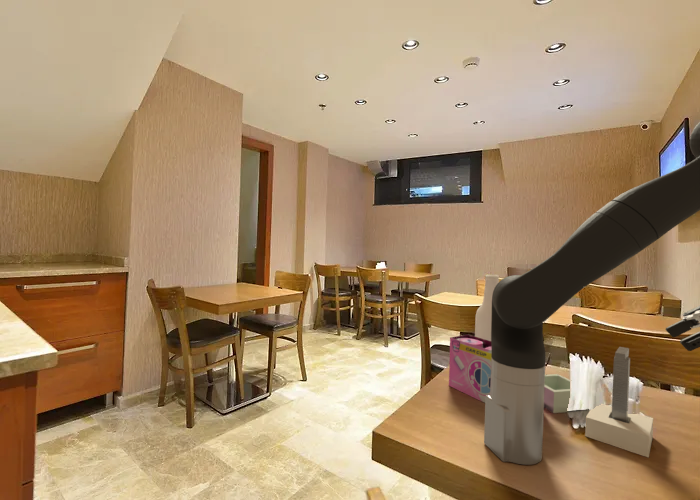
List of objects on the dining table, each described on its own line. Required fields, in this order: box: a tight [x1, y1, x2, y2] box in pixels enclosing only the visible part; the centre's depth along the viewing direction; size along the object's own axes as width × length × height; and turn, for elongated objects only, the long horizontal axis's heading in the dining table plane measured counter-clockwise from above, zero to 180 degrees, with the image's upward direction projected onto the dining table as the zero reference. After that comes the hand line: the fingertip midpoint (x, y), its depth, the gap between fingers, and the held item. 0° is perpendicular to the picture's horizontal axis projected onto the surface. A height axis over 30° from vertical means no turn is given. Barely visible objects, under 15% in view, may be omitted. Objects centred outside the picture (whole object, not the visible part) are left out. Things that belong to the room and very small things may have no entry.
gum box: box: [448, 334, 546, 404], centre depth 89 cm, size 24×8×14 cm, turn 31°
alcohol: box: [474, 274, 500, 341], centre depth 107 cm, size 9×9×30 cm
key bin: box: [544, 373, 571, 414], centre depth 88 cm, size 10×10×5 cm
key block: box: [584, 403, 654, 459], centre depth 73 cm, size 10×10×4 cm
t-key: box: [611, 346, 631, 423], centre depth 72 cm, size 6×2×18 cm, turn 136°
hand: (675, 339), depth 72 cm, fingers open, 8 cm apart
